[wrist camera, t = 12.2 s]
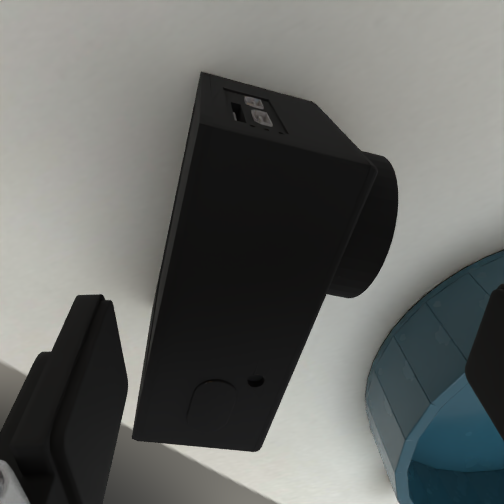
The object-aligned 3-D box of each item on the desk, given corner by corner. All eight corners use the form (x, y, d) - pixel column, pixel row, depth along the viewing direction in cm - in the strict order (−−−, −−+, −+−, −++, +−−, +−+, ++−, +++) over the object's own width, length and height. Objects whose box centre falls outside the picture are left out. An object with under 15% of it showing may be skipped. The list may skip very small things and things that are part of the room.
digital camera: (267, 327, 21) (293, 461, 15) (152, 309, 20) (130, 446, 14) (347, 110, 17) (429, 180, 11) (201, 70, 15) (199, 123, 9)
